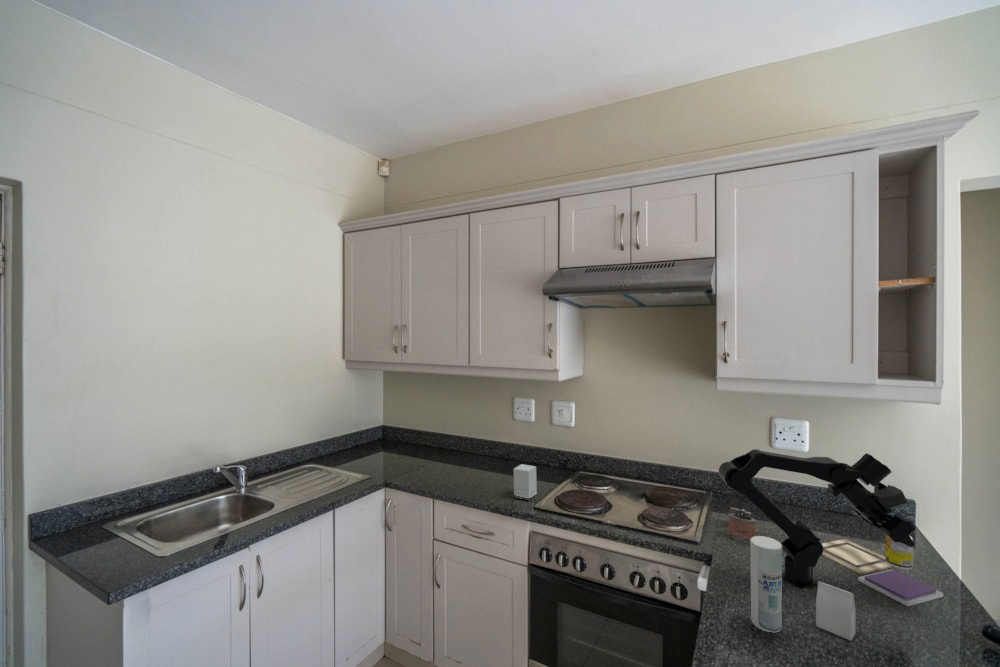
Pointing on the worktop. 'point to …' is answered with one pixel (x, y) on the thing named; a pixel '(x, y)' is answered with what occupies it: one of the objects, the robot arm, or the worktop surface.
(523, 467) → the supplement box
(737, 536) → the lighter
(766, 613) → the spray can
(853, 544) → the board
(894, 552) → the supplement bottle
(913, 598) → the ink pad
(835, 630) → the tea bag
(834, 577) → the worktop surface
